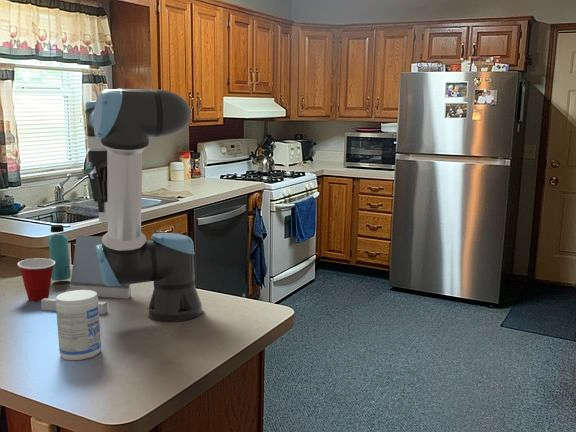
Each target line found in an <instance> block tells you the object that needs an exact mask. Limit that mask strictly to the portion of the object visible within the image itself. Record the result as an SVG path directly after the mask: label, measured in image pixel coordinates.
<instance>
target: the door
mask: <svg viewBox="0 0 576 432" xmlns="http://www.w3.org/2000/svg"><path fill="white" fill-rule="evenodd" d="M102 237H103V236H98V235H97V236H94V235H93V236H92V235H76V239H75V247H74V253H73V254H74V255H73V260H72V261H73V263H72V269H71V276H70V285H88V286H103V287H119V288H130V286H131V284H127V285H121V286H119V285H118V286H107V285H105V284H104V283H103V281H102V278H101V274H100V270H99V265H98V260H97V255H96V246H97V245H99V244H102Z"/></svg>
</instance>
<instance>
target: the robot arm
mask: <svg viewBox="0 0 576 432" xmlns="http://www.w3.org/2000/svg"><path fill="white" fill-rule="evenodd" d="M84 113H85V123H86V137H87V138H86V142H87V148H88V149H89V150H88V151H87V158H88V163H91V164H92V166H91V172H88V173H87V177H88V179H89V183H90V190H91V195H92V198H93V202H94V203H97V208H98V209H97V210H98V222H99V223H107V232H106V233H105V234H103V236H101V237H102V244H99V245H97V246H96V255H97V260H98V265H99V270H100V274H101V278H102V281H103V283H104V284H105V285H107V286H118V285H119V286H121V285H127V284H130V285H133V284H143V283H149V282H151V283H152V282H153V290H152V295H151V297H150V301H149V304H148V316H149V318H150V319H151V320H154V321H158V322H165V323H166V322H170V323H171V322H182V321H188V320H192V319H195V318H197V317H198V316H200V315H201V314H202V312H203V309H202V308H203V307H202V302H201V299H200V296H199V293H198V291H197V288H196V280H195V279H196V278H195V255H196V253H195V248H194V247H195V246H194V240H193V239H192V238H191V237H189V236H188V235H184V234H181V233H173V232H172V233H171V232H156V233H153V234H151V237H150V239H148V240H147V237H146V235H145V234H144V233H143V232H142V198H143V197H142V193H143V187H142V185H143V151H144V150H146V149H147V148H148V147H149V145H150V143H149V142H150V138H157V137H158V138H159V137H169V136H173V135H176V134H179V133H182V131H183V130H185V129H186V128H187V127H188V126H189V124H190V122H191V119H192V110H191V107H190V104H189V103H188V102H187V100H186V99H185V98H184V97H182V96H180V94H177V93H176V92H173V91H169V90H165V89H138V88H137V89H135V88H133V89H131V88H116V89H114V88H112V89H103V90H101V91H100V92H99V93H98V95H97V97H96V100H88V101H86V102H85V110H84Z"/></svg>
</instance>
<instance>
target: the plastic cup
mask: <svg viewBox="0 0 576 432" xmlns="http://www.w3.org/2000/svg"><path fill="white" fill-rule="evenodd" d="M54 265H55V261H54V260H51V259H50V258H43V257H42V258H40V257H38V258H37V257H35V258H34V257H33V258H26V259H24V260H23V259H22V260H20V261H18V262H17V267H19V271H20V274H21V277H22V281H23V286H24V289H25V292H26V296H27V298H28V300H29V302H41V300H42V299H44V298H50V290H51V289H50V288H51V283H52V278H51V275H52V270H53V266H54Z"/></svg>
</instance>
